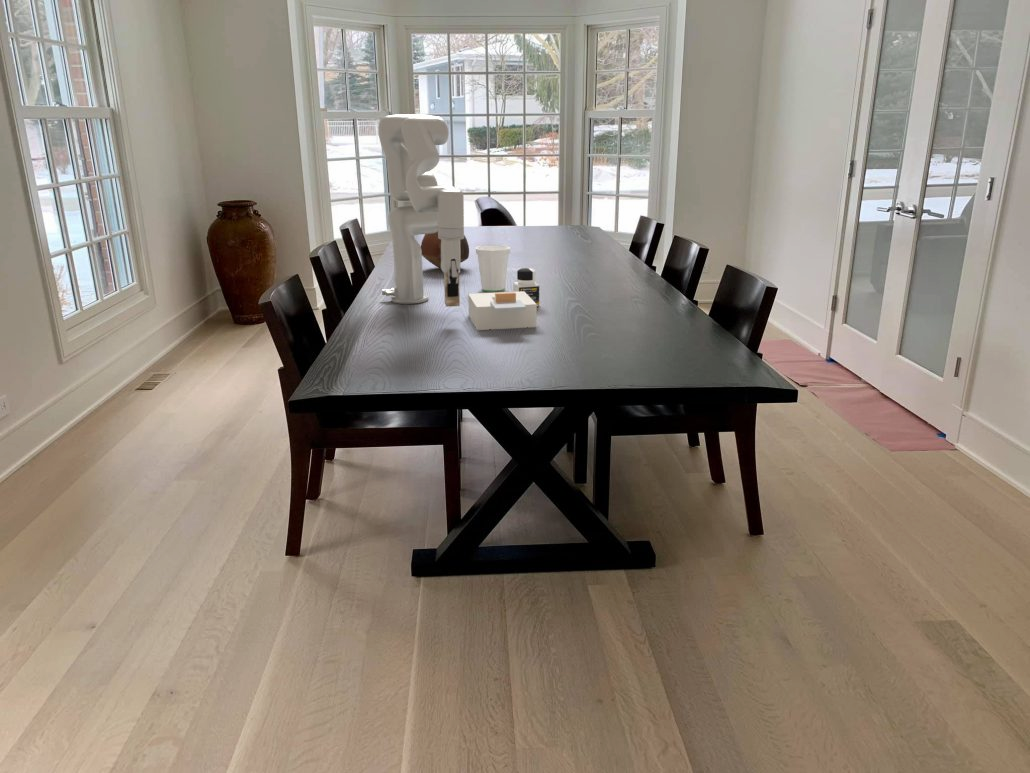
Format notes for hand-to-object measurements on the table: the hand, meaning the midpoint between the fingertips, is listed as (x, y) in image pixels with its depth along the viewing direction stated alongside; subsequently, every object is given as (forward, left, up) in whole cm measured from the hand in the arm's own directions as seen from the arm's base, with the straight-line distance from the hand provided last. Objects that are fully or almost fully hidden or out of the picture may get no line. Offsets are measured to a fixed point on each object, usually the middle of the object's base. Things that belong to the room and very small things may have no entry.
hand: (451, 293), depth 225 cm
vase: (+7, +88, -10) cm, 89 cm away
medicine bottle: (+27, +21, -10) cm, 36 cm away
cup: (+20, +46, -10) cm, 51 cm away
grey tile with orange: (+15, -9, -2) cm, 18 cm away
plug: (0, 0, -3) cm, 3 cm away
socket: (+15, +1, -9) cm, 18 cm away
